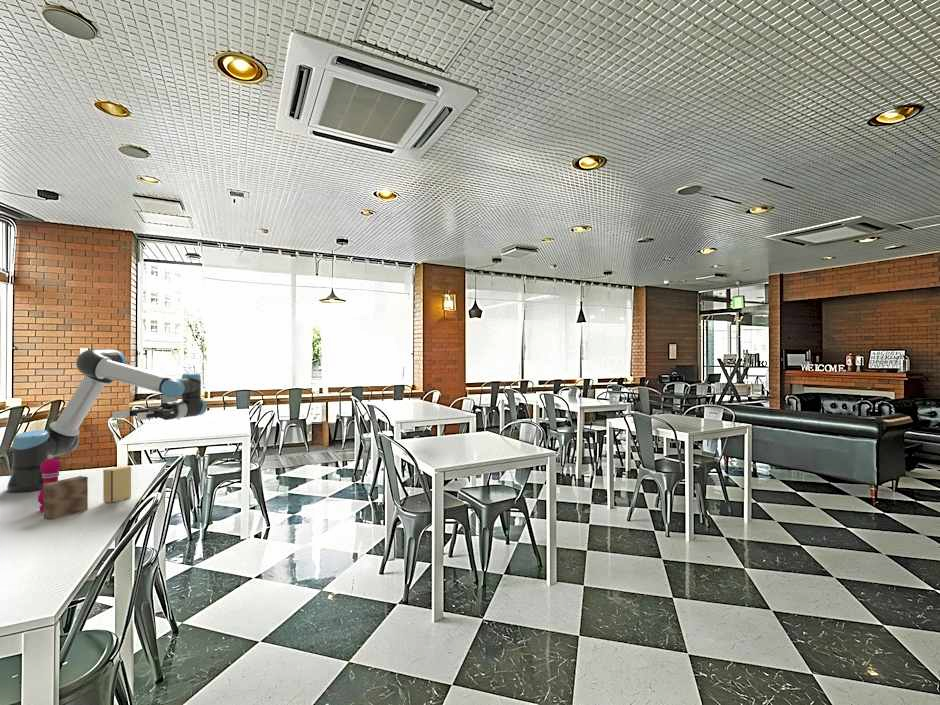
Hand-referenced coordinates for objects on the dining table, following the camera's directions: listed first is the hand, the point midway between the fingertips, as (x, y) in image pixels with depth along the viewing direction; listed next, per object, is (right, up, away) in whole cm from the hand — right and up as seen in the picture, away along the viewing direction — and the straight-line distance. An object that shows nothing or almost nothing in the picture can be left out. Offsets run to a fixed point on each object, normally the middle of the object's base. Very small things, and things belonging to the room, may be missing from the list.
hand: (125, 416), depth 204 cm
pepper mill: (-16, -32, -16) cm, 40 cm away
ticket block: (-6, -32, -22) cm, 39 cm away
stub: (0, -32, -4) cm, 32 cm away
